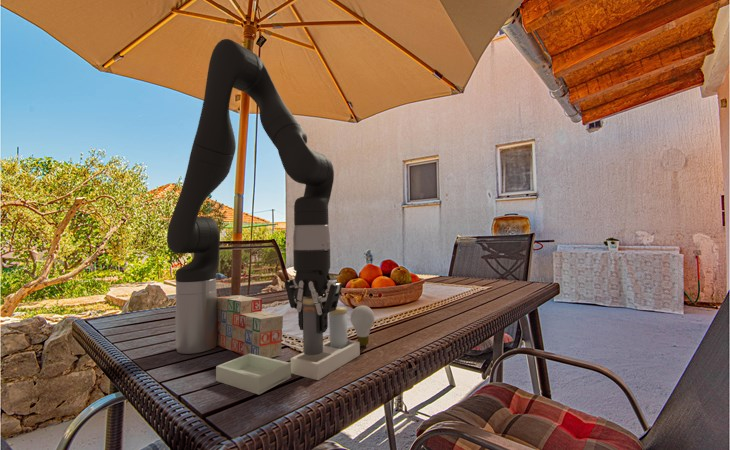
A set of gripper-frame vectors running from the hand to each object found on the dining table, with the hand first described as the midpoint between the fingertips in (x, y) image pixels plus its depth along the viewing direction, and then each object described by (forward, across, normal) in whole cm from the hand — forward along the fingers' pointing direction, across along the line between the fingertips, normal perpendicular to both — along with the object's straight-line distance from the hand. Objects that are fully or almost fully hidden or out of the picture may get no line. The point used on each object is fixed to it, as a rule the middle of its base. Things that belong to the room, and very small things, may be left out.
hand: (313, 330), depth 70 cm
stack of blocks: (+9, -24, +2) cm, 25 cm away
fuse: (+8, 0, +8) cm, 12 cm away
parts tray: (+8, -8, -9) cm, 14 cm away
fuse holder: (+8, 0, +4) cm, 9 cm away
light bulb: (+8, +1, +17) cm, 19 cm away
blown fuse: (+4, 0, 0) cm, 4 cm away
